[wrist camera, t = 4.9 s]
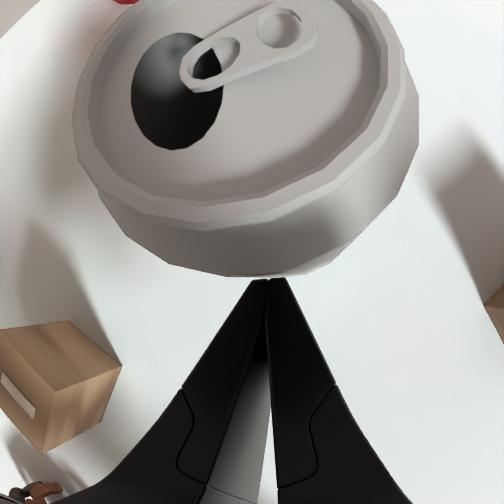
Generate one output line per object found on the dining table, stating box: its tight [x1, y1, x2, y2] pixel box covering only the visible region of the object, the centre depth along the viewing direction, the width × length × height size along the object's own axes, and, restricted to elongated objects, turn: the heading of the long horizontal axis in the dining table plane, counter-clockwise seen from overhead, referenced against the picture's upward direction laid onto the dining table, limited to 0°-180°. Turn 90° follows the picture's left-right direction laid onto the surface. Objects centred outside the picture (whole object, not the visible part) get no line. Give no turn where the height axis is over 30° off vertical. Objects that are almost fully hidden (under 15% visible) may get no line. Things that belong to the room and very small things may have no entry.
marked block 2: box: [0, 321, 122, 454], centre depth 15 cm, size 5×5×6 cm
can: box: [72, 0, 419, 277], centre depth 10 cm, size 8×8×12 cm
